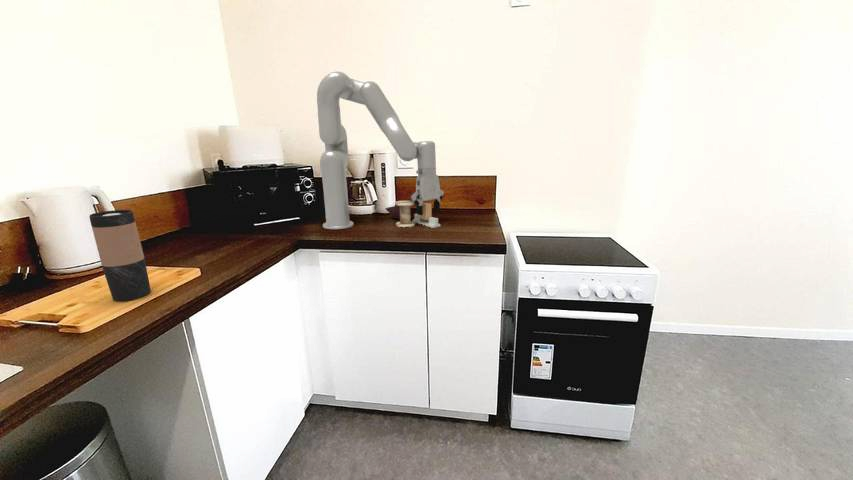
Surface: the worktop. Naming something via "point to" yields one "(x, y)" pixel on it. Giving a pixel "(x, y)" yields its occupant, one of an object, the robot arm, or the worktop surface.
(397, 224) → the spool
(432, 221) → the notch board
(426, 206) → the tan rectangular block
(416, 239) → the worktop surface
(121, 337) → the worktop surface
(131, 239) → the travel mug
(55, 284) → the worktop surface
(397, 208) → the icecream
